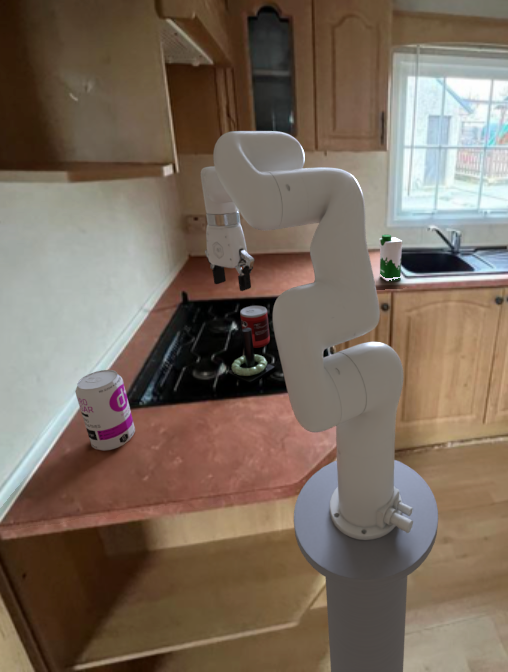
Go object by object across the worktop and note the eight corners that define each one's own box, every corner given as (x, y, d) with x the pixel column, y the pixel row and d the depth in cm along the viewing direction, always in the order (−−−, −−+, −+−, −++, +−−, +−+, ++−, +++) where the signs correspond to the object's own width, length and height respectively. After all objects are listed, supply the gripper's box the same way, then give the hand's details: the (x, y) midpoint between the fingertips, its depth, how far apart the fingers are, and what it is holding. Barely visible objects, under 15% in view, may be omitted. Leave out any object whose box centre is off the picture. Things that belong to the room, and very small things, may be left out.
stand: (275, 370, 113) (271, 327, 109) (250, 386, 106) (244, 340, 102) (252, 361, 118) (248, 319, 113) (227, 375, 111) (221, 331, 106)
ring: (274, 365, 114) (273, 359, 113) (248, 381, 106) (247, 374, 106) (250, 356, 118) (250, 350, 118) (224, 370, 111) (224, 364, 110)
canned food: (248, 336, 132) (244, 305, 128) (272, 337, 132) (269, 305, 128) (240, 348, 125) (236, 315, 121) (266, 348, 125) (263, 315, 121)
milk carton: (377, 276, 187) (377, 233, 180) (395, 274, 190) (396, 232, 183) (385, 283, 179) (385, 238, 172) (403, 280, 182) (405, 236, 175)
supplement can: (143, 426, 92) (129, 368, 87) (121, 453, 84) (104, 391, 79) (107, 425, 92) (91, 367, 87) (82, 452, 84) (63, 390, 79)
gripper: (188, 218, 101) (198, 284, 107) (235, 225, 92) (244, 297, 98) (213, 214, 107) (222, 276, 112) (260, 220, 98) (267, 287, 103)
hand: (232, 286), depth 105 cm, fingers open, 9 cm apart
